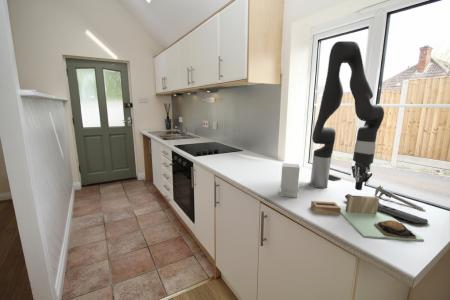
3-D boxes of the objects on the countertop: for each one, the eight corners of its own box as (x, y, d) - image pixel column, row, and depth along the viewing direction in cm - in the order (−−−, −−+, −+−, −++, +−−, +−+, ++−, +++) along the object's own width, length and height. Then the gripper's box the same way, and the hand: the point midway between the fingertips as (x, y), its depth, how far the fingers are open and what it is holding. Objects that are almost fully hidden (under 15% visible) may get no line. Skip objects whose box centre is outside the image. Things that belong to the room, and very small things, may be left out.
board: (374, 212, 95) (345, 210, 96) (376, 196, 94) (347, 195, 94) (376, 214, 94) (347, 212, 94) (379, 198, 92) (349, 196, 93)
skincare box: (296, 193, 114) (299, 164, 111) (297, 198, 108) (300, 167, 105) (279, 191, 116) (282, 162, 113) (279, 196, 110) (282, 165, 107)
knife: (351, 191, 112) (430, 217, 89) (350, 195, 112) (428, 222, 90) (343, 194, 106) (426, 223, 84) (342, 198, 106) (424, 228, 84)
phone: (333, 179, 137) (313, 172, 150) (332, 181, 137) (313, 174, 150) (341, 178, 140) (322, 171, 153) (341, 180, 140) (322, 173, 153)
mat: (334, 206, 101) (334, 205, 100) (379, 209, 100) (379, 207, 100) (363, 237, 77) (363, 235, 77) (423, 241, 76) (423, 239, 76)
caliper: (374, 196, 116) (376, 184, 114) (375, 195, 116) (377, 184, 115) (425, 212, 99) (428, 199, 98) (425, 211, 100) (428, 198, 99)
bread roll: (384, 236, 77) (386, 227, 76) (372, 224, 85) (374, 215, 84) (418, 240, 76) (421, 230, 75) (402, 227, 84) (404, 218, 83)
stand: (310, 207, 99) (311, 200, 98) (333, 208, 99) (334, 202, 98) (315, 213, 93) (316, 206, 93) (339, 214, 93) (340, 208, 92)
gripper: (347, 148, 103) (342, 184, 106) (363, 153, 90) (357, 194, 93) (364, 149, 102) (359, 185, 105) (382, 154, 89) (375, 195, 92)
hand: (358, 189), depth 99 cm, fingers closed
